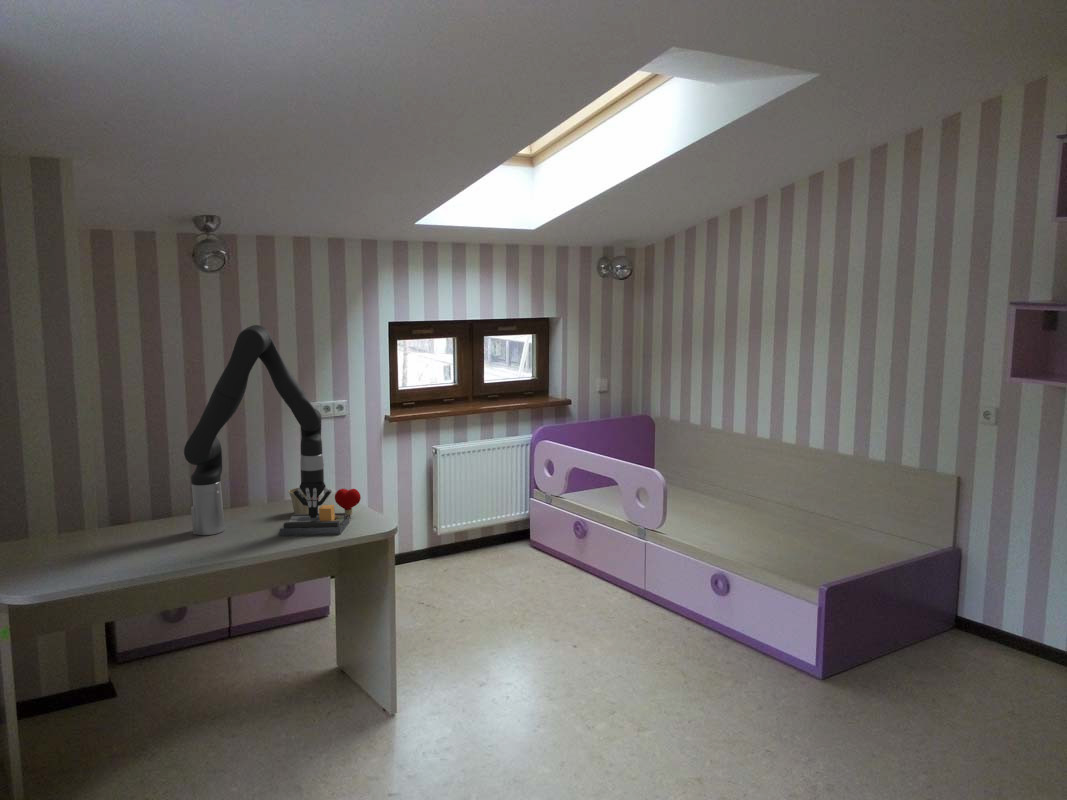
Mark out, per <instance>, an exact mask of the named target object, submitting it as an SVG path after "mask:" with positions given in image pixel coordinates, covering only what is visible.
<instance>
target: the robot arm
mask: <svg viewBox="0 0 1067 800" xmlns="http://www.w3.org/2000/svg"><path fill="white" fill-rule="evenodd" d="M235 341H236V342H235V343H234V347H233V350H232V352H231V355H230V358H229V360H228V362H227V365H226V367H225V368H224V370H223V372H222V373H221V376H220V377H219V378H218V380H217V382H216V384H215V386H214V389H213V391H212V393H211V395H210V397H209V400H208V402H207V404H206V406H205V408H204V410H203V413H202V415H201V417H200V419H199V421H198V424H196V426H195V428H194V430H193V431H192V433H191V434H190V435H189V438H188V439H187V441H186V442H185V444H184V449H183V454H184V458H185V461H187V463H189V464H191V465H192V466H193V465H194V466H196V468H195V470H194V472H193V473H192V475H191V477H190V482H191V490H192V491H191V492H192V494H191V495H192V504H193V505H192V506H191V507H190V512H191V513H190V514H191V523H192V534H193V535H198V536H210V535H217V534H220V533H222V532H224V531H225V519H224V508H223V507H224V506H223V494H222V482H221V480H222V479H221V476H222V474H223V450H222V445H221V442H220V440H219V439H218V438H217V435H218V433H219V432H220V431H221V429H222V428H223V427H224V426H225V425H226V424H227V422H229V420H230V419H231V418H232V417H233V415H234V414H235V413H236V412H237V410H238V409H239V406H240V404H241V402H242V401H243V398H244V396H245V394H246V390H247V386H248V380H249V377H250V374H251V371H252V369H253V367H254V365H255V364H256V362H257V361H258V359H260V361H261V362H262V364H263V365H264V366H265V368H266V371H268V374H269V377H270V379H271V381H272V384H273V385H274V387H275V389H276V391H277V392H278V394H279V396H280V397H281V399H282V400H283V401H284V403H285V405H287V407H289V409H290V412H291V413H292V414H293V415H294V416H293V417H294V418H295V419H296V421H297V423H298V424H299V425H300V435H301V436H300V437H301V438H300V465H299V466H300V467H299V468H300V484H299V487H298V488H299V489H297V490H295V491H294V495H295V496H296V497H297V498H298V499H299V501H300V502H301V503H302V504H303V505H306V506H308V508H309V516H310V517H311V518H315V517H316V516H317V515H318V513H319V506H320V507H321V506H322V505H324V502H326V500H328V497H329V496H330V495H331V494H332V490H331V489H329V488H327V487H326V483H325V479H324V478H325V474H324V472H325V471H324V468H325V467H324V466H325V463H324V456H323V441H322V414H321V412H320V411H319V410H318V409H317V408H315V407H314V406H313V404H311V402H310V401H309V399H308V396H307V393H306V392H305V391H304V389H303V388H302V386H301V385H300V384H299V382H298V381H297V379H296V378H295V376H294V375H293V374H292V372H291V371H290V369H289V368H288V366H287V365H286V363H285V361H284V359H283V358H282V356H281V353H280V352H279V350H278V349H277V346H276V345H275V342H274V340H273V338H272V336H271V334H270V332H269V331H268V330H267V328H266V327H264V326H261V325H259V324H253V325H251V326H247V327H246V328H245V329H243V330H241V331H240V333H239V334H238V335H237V337H236V340H235ZM302 492H303V493H304V494H305V496H307V499H306V498H305V497H304V496H303V495H302ZM322 493H323V496H322V498H321V499H320V500H319V498H320V496H321V495H322Z"/></svg>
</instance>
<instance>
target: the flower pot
mask: <svg viewBox="0 0 1067 800" xmlns="http://www.w3.org/2000/svg"><path fill="white" fill-rule="evenodd" d="M299 488H300V487H295V488H292V489H290V490H287V492H288V494H289V496H290V498H291V503H292V507H293V514H309V508H308V506H306V505H303V504H302V503H301V502H300V501H299V499H298V498H297V497H296V496H295V495H294V491H295V490H297V489H299ZM302 495H303V496H304V497H305V498H306V499H307V496H305V494H304V493H303V492H302Z"/></svg>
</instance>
